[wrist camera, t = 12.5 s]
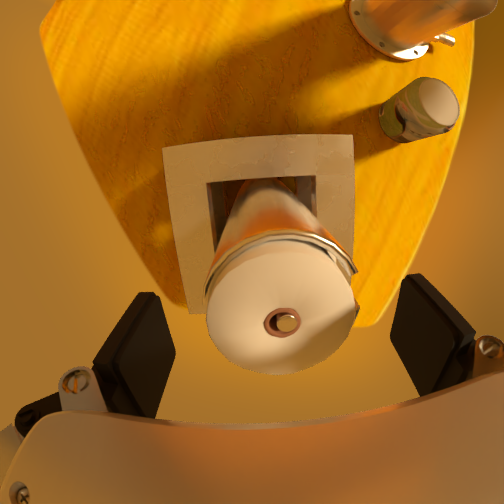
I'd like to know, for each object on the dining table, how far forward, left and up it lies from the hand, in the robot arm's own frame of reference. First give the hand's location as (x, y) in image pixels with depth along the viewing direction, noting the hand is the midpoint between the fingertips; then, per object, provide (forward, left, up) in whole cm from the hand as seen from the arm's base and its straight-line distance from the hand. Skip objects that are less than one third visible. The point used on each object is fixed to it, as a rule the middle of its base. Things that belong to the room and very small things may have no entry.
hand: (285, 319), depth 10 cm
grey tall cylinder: (0, 0, -25) cm, 25 cm away
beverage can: (-18, -11, -25) cm, 32 cm away
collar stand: (0, 0, -25) cm, 25 cm away
